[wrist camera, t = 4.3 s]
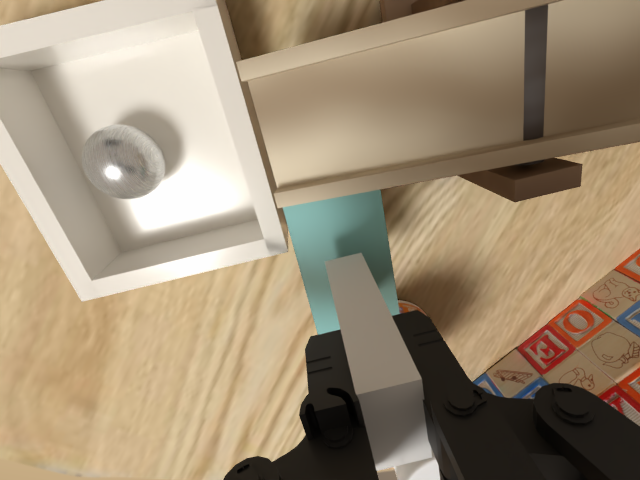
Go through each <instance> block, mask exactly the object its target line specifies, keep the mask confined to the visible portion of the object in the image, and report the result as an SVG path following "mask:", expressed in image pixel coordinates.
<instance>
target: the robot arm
mask: <svg viewBox="0 0 640 480" xmlns="http://www.w3.org/2000/svg"><path fill="white" fill-rule="evenodd" d="M325 266H326V270H327V274H328V278H329V283H330V287H331V291H332V295H333V300H334V304H335V308H336V312H337V317H338V321H339V325H340V330H336V331H331V332H327V333H323V334H319V335H315V336H311V337H310V339H309V341H308V344H307V346H306V348H305V353H306V363H307V364H306V366H307V378H308V391H309V394H308V395H307V396H306V397H305V399H304V401H303V402H302V404H301V408H300V414H299V416H300V419H301V421H302V424H303V427H304V430H305V433H306V435H305V437H304V439H303V440H302V441H301V442H300V443H299V445H298V446H297V447H295V448H294V449H293V450H291V451H290V452H288V453H287V454H285V455H283V456H282V457H280V458H278V459H277V460H275V461H273V462H271V461H270V460H269V459H268V458H264V457H259V456H257V457H252V458H247V459H245V460H243V461H242V462H240V463H238V464H236V465H235V466H234V467H233V468H232V469H231V470H230V471H229V472H228V473H227V475H226V476H225V478H224V480H379V479H378V475H377V471H378V470H382V469H387V468H391V467H395V466H399V465H403V464H407V463H411V462H416V461H420V460H424V459H428V458H432V452H431V448H432V451H433V453H434V456H435V458H436V460H437V463H438V466H439V474H440V480H640V426H639V425H637V424H636V423H635V422H633V421H632V420H630V419H629V418H627V417H626V416H625V415H623V414H622V413H620V412H619V411H618V410H616V409H615V408H613V407H612V406H610V405H609V404H608V403H606V402H605V401H603V400H602V399H601V398H599V397H598V396H596V395H595V394H593V393H591V392H589V391H587V390H585V389H584V388H581V387H578V386H574V385H571V384H567V383H552V384H548V385H545V386H542V387H541V388H540V389H539V390H538V391H537V392H536V393H535V397H534V399H524V398H507V397H500V396H496V395H493V394H489V393H487V392H486V391H485V390H484V389H483V388H481V387H480V386H478V385H476V384H474V383H472V382H471V380H470V379H469V378H468V377H467V375H466V374H465V372H464V371H463V369H462V367H461V366H460V364H459V363H458V361H457V360H456V358H455V357H454V355H453V353H452V352H451V350H450V349H449V347H448V346H447V344H446V342H445V341H444V340H443V338H442V336H441V335H440V333H439V332H438V331H437V328H436V327H435V325H434V324H433V322H432V321H431V319H430V318H429V317H428V316H426V315H425V314H423V313H422V312H420V311H418V310H414V311H410V312H406V313H401V314H397V315H393V316H391V313H390V311H389V309H388V307H387V305H386V303H385V301H384V299H383V297H382V295H381V293H380V290H379V288H378V286H377V284H376V282H375V280H374V278H373V276H372V274H371V272H370V270H369V267H368V265H367V263H366V261H365V259H364V257H363V255H362V253H358V254H353V255H349V256H345V257H341V258H337V259H333V260H329V261H325Z"/></svg>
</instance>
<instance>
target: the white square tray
mask: <svg viewBox="0 0 640 480" xmlns="http://www.w3.org/2000/svg"><path fill="white" fill-rule="evenodd" d="M241 60H242V59H241V56H240V52H239V48H238V45H237V41H236V38H235V34H234V30H233V27H232V23H231V20H230V16H229V12H228V9H227V5H226V2H225V0H104V1H100V2H95V3H91V4H87V5H83V6H79V7H75V8H71V9H67V10H63V11H59V12H54V13H50V14H46V15H42V16H38V17H34V18H30V19H26V20H22V21H17V22H13V23H9V24H5V25H1V26H0V164H1V166H2V167H3V169H4V171H5V173H6V174H7V176H8V178H9V179H10V181H11V183H12V184H13V186H14V188H15V189H16V191H17V193H18V194H19V196H20V198H21V200H22V201H23V203H24V205H25V206H26V208H27V210H28V211H29V213H30V215H31V216H32V218H33V220H34V222H35V223H36V225H37V227H38V228H39V230H40V232H41V233H42V235H43V237H44V238H45V240H46V242H47V243H48V245H49V247H50V249H51V250H52V252H53V254H54V255H55V257H56V259H57V260H58V262H59V264H60V265H61V267H62V269H63V271H64V272H65V274H66V276H67V277H68V279H69V281H70V282H71V284H72V286H73V287H74V289H75V291H76V292H77V294H78V296H79V298H80V299H81V301H82V302H83V301H87V300H91V299H95V298H99V297H103V296H107V295H112V294H116V293H120V292H124V291H128V290H132V289H136V288H141V287H145V286H149V285H153V284H157V283H161V282H165V281H169V280H174V279H178V278H182V277H186V276H190V275H194V274H198V273H203V272H207V271H211V270H215V269H219V268H223V267H227V266H231V265H236V264H240V263H244V262H248V261H252V260H256V259H260V258H265V257H269V256H273V255H277V254H281V253H285V252H288V225H287V221H286V218H285V214H284V211H283V207H282V208H277V204H276V201H275V197H274V192H275V191H276V190H277V186H276V182H275V178H274V175H273V171H272V168H271V164H270V160H269V157H268V153H267V150H266V146H265V143H264V139H263V135H262V132H261V128H260V125H259V121H258V117H257V114H256V110H255V107H254V103H253V100H252V96H251V92H250V89H249V85H248V82H247V81H241V78H240V74H239V71H238V67H237V64H236V62H238V61H241ZM120 124H121V125H129V126H133V127H136V128H138V129H140V130H142V131H144V132H146V133H147V134H149V135H150V136H151V137H152V138H153V139H154V140H155V141H156V142H157V143H158V145H159V146H160V148H161V150H162V152H163V155H164V158H165V174H164V177H163V179H162V181H161V183H160V184H159V186H158V187H157V188H156V189H155V190H154V191H152V192H151V193H149V194H148V195H146V196H143V197H140V198H136V199H120V198H115V197H112V196H109V195H107V194H105V193H103V192H102V191H100V190H99V189H97V188H96V187H95V186H94V185H93V184H92V183H91V182H90V180H89V179H88V178H87V176H86V174H85V172H84V169H83V166H82V150H83V147H84V145H85V143H86V141H87V140H88V138H89V137H90V136H91V135H92V134H93V133H94V132H95V131H97V130H99V129H101V128H103V127H106V126H109V125H120Z"/></svg>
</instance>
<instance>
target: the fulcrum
mask: <svg viewBox="0 0 640 480" xmlns="http://www.w3.org/2000/svg"><path fill="white" fill-rule="evenodd" d="M462 1H466V0H380V8H381V16H382V23H383V22H387V21H391V20H395V19H398V18H402V17H406V16H409V15H413V14H417V13H421V12H424V11H428V10H432V9H436V8H439V7H443V6H447V5H451V4H454V3H458V2H462ZM581 174H582V164H579V163H575V162H570V161H566V160H562V159H557V158H549V159H546V160H545V161H543V162H541V163H538V164H533V165H523V166H518V165H511V166H505V167H500V168H494V169H489V170H483V171H478V172H472V173H467V174H462V175H457V176H460V177H462V178H464V179H466V180H468V181H470V182H472V183H475V184H477V185H479V186H481V187H483V188H485V189H487V190H490V191H492V192H494V193H496V194H498V195H500V196H502V197H505V198H507V199H509V200H511V201H513V202H518V201H522V200H526V199H530V198H534V197H538V196H543V195H547V194H551V193H555V192H559V191H563V190H567V189H572V188H576V187H580V186H581Z"/></svg>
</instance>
